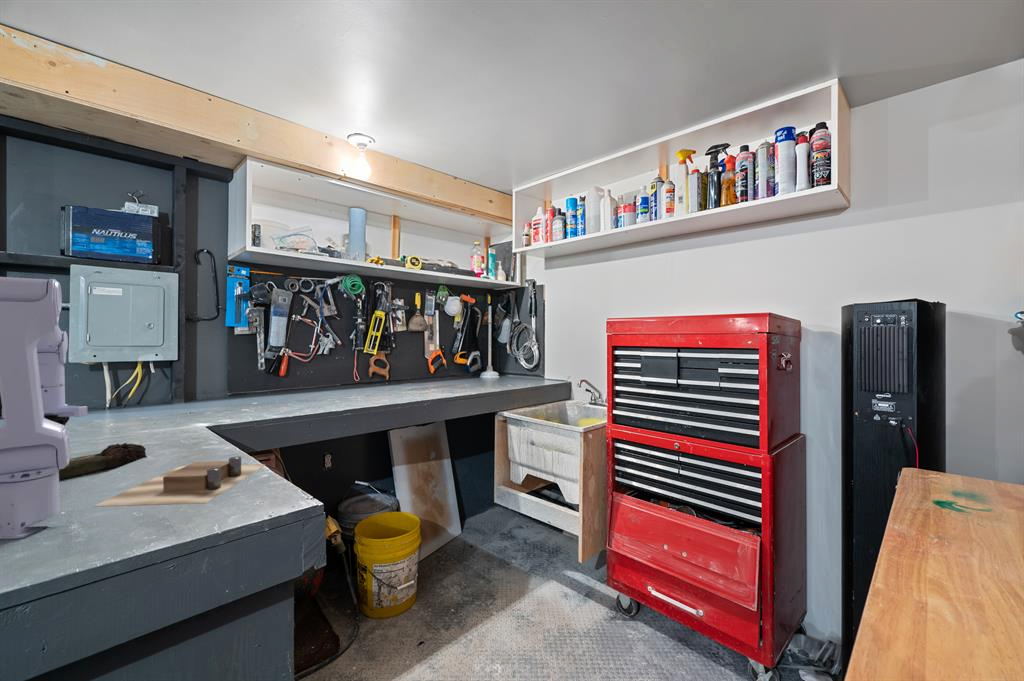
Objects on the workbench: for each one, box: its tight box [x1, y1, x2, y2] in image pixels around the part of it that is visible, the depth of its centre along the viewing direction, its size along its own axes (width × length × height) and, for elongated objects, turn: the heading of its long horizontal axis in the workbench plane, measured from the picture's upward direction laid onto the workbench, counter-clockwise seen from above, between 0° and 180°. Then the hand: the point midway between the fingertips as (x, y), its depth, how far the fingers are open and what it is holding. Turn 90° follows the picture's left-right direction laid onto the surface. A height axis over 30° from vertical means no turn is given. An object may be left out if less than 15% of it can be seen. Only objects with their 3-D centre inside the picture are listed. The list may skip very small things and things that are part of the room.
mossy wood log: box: [59, 442, 148, 481], centre depth 106 cm, size 18×7×6 cm, turn 147°
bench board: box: [92, 456, 266, 508], centre depth 93 cm, size 24×20×6 cm
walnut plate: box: [163, 460, 229, 491], centre depth 93 cm, size 10×8×3 cm
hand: (46, 451), depth 89 cm, fingers closed
